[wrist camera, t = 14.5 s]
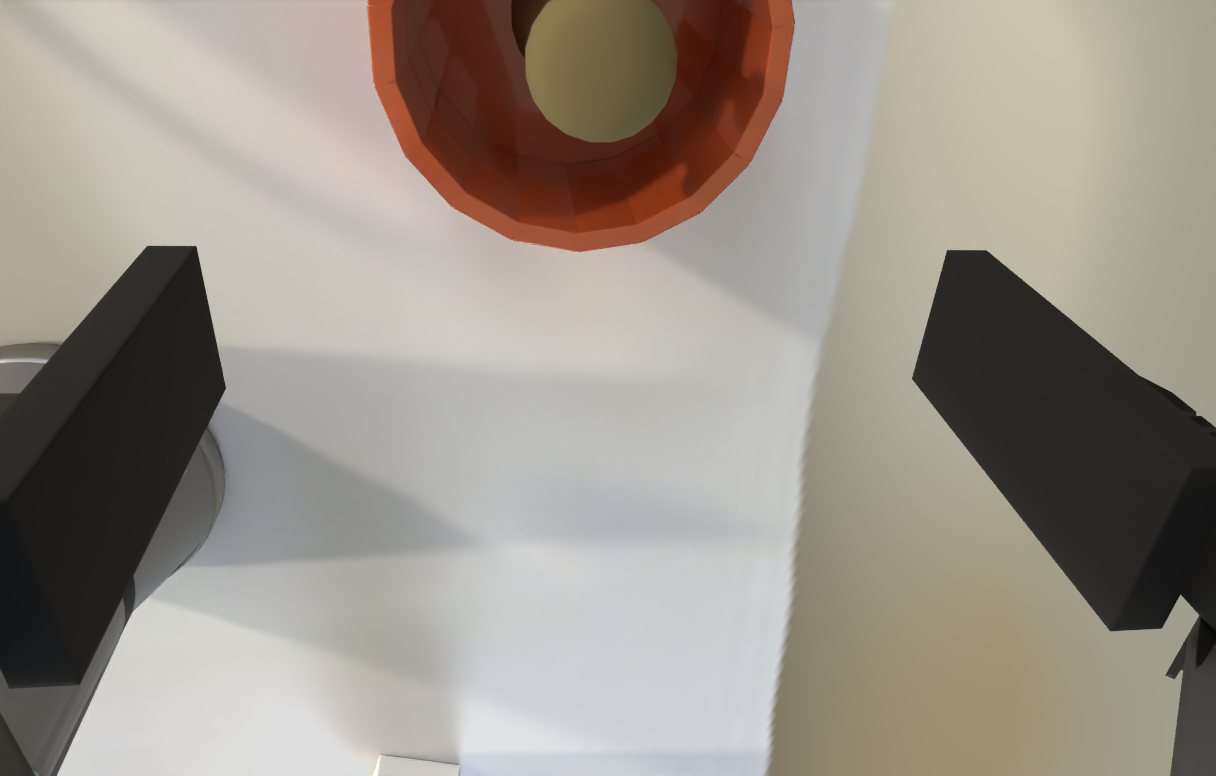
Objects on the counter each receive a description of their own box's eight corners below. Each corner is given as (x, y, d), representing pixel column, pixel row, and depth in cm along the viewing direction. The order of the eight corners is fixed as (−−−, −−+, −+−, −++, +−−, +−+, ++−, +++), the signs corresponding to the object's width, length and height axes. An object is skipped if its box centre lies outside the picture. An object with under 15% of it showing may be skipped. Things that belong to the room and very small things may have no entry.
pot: (408, 174, 41) (386, 250, 33) (384, -207, 33) (348, -222, 26) (713, 181, 43) (758, 255, 35) (758, -180, 35) (828, -186, 27)
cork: (664, -45, 37) (718, -7, 27) (634, 100, 40) (674, 179, 30) (521, -75, 35) (526, -46, 26) (501, 76, 38) (500, 151, 29)
